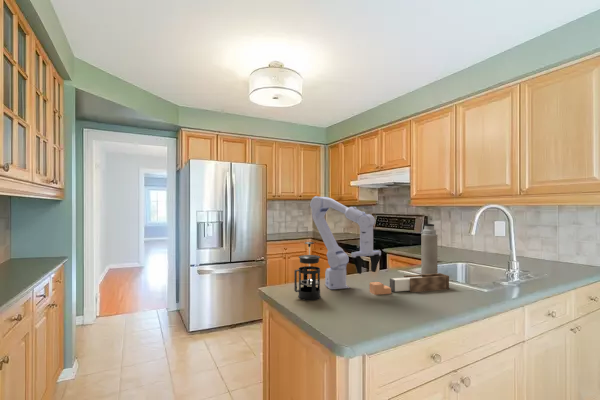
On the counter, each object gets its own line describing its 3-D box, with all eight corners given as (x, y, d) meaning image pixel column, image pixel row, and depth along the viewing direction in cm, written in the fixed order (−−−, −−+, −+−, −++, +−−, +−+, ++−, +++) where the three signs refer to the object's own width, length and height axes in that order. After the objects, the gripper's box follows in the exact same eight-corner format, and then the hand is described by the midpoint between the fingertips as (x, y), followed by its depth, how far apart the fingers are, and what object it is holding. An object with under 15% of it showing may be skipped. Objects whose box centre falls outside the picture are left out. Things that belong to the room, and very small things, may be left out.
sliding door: (393, 291, 134) (393, 280, 134) (389, 289, 137) (389, 278, 137) (425, 289, 138) (425, 278, 138) (421, 287, 141) (421, 276, 141)
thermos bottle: (421, 273, 170) (421, 223, 170) (437, 275, 166) (437, 223, 167) (420, 276, 162) (420, 224, 163) (437, 278, 159) (437, 224, 159)
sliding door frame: (411, 292, 135) (411, 278, 135) (403, 288, 140) (403, 275, 140) (449, 289, 139) (449, 276, 139) (440, 285, 145) (440, 273, 145)
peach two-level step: (374, 295, 131) (374, 285, 131) (369, 292, 136) (369, 282, 136) (391, 293, 133) (391, 284, 133) (385, 290, 137) (385, 281, 137)
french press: (316, 292, 134) (316, 240, 134) (326, 298, 125) (326, 242, 126) (291, 295, 130) (291, 241, 130) (299, 302, 121) (299, 244, 121)
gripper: (358, 243, 128) (358, 276, 128) (385, 241, 134) (385, 272, 134) (348, 241, 135) (348, 272, 135) (375, 240, 141) (375, 269, 141)
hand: (366, 272), depth 135 cm, fingers open, 7 cm apart
